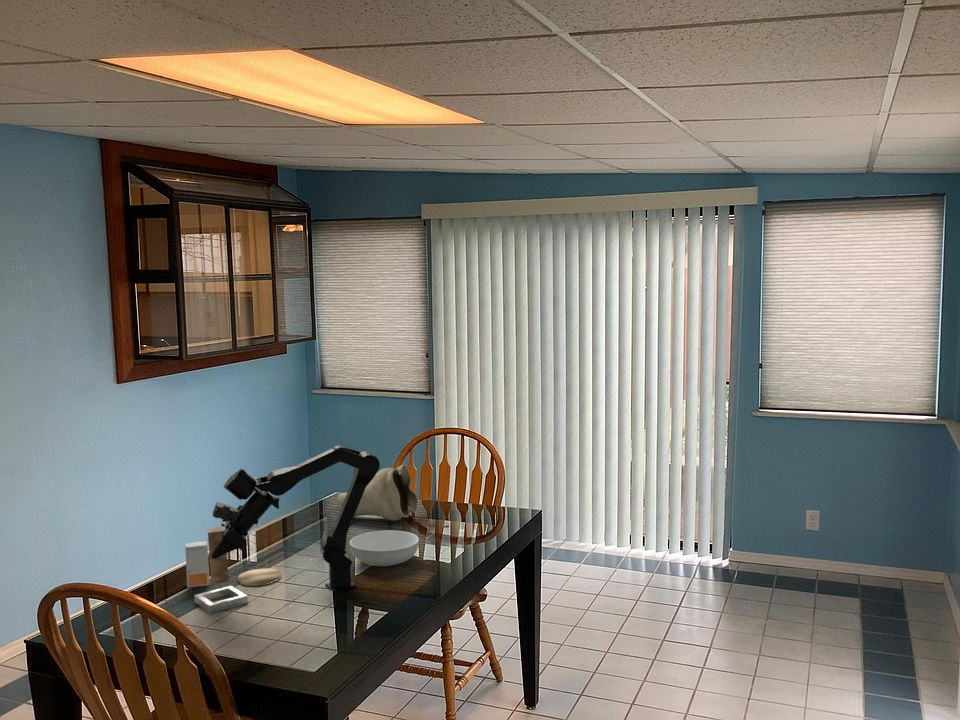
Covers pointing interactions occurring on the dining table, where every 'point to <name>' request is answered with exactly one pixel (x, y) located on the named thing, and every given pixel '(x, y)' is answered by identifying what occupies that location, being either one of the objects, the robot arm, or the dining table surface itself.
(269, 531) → the dining table surface
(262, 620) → the dining table surface
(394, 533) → the serving bowl
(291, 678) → the dining table surface
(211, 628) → the dining table surface
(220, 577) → the tan tall block
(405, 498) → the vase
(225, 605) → the grey square frame
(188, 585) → the skincare box
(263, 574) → the cork coaster
